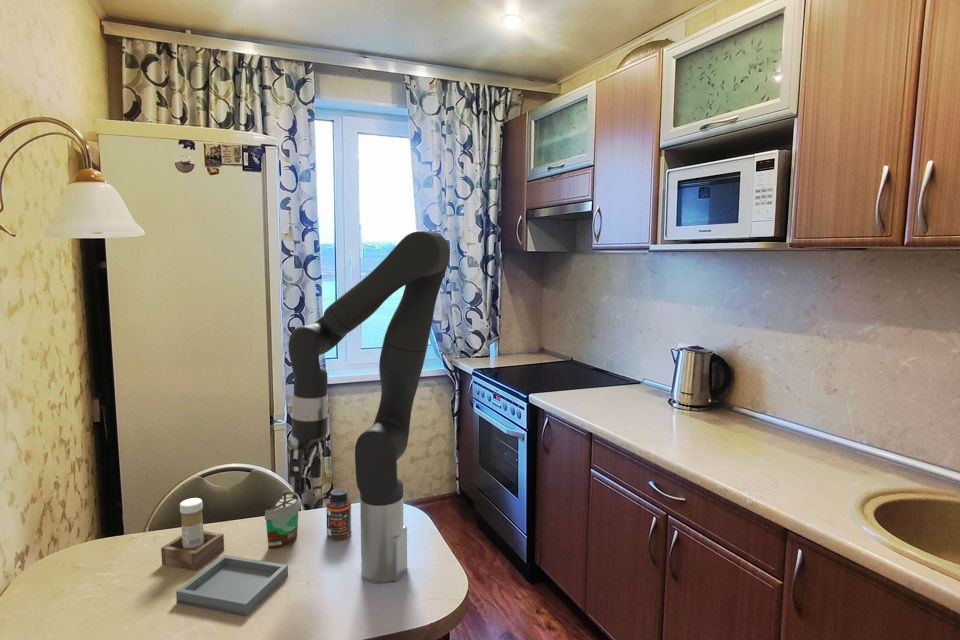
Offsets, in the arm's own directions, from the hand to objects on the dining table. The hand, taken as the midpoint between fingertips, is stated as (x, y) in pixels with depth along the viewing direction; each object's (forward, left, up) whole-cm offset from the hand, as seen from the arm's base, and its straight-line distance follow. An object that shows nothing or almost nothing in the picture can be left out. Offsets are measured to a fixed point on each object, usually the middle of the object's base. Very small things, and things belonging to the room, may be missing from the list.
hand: (307, 484), depth 125 cm
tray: (+10, +13, -18) cm, 24 cm away
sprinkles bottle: (+27, +5, -19) cm, 33 cm away
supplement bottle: (-1, -13, -19) cm, 22 cm away
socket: (+27, +5, -18) cm, 33 cm away
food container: (+10, -8, -19) cm, 23 cm away
